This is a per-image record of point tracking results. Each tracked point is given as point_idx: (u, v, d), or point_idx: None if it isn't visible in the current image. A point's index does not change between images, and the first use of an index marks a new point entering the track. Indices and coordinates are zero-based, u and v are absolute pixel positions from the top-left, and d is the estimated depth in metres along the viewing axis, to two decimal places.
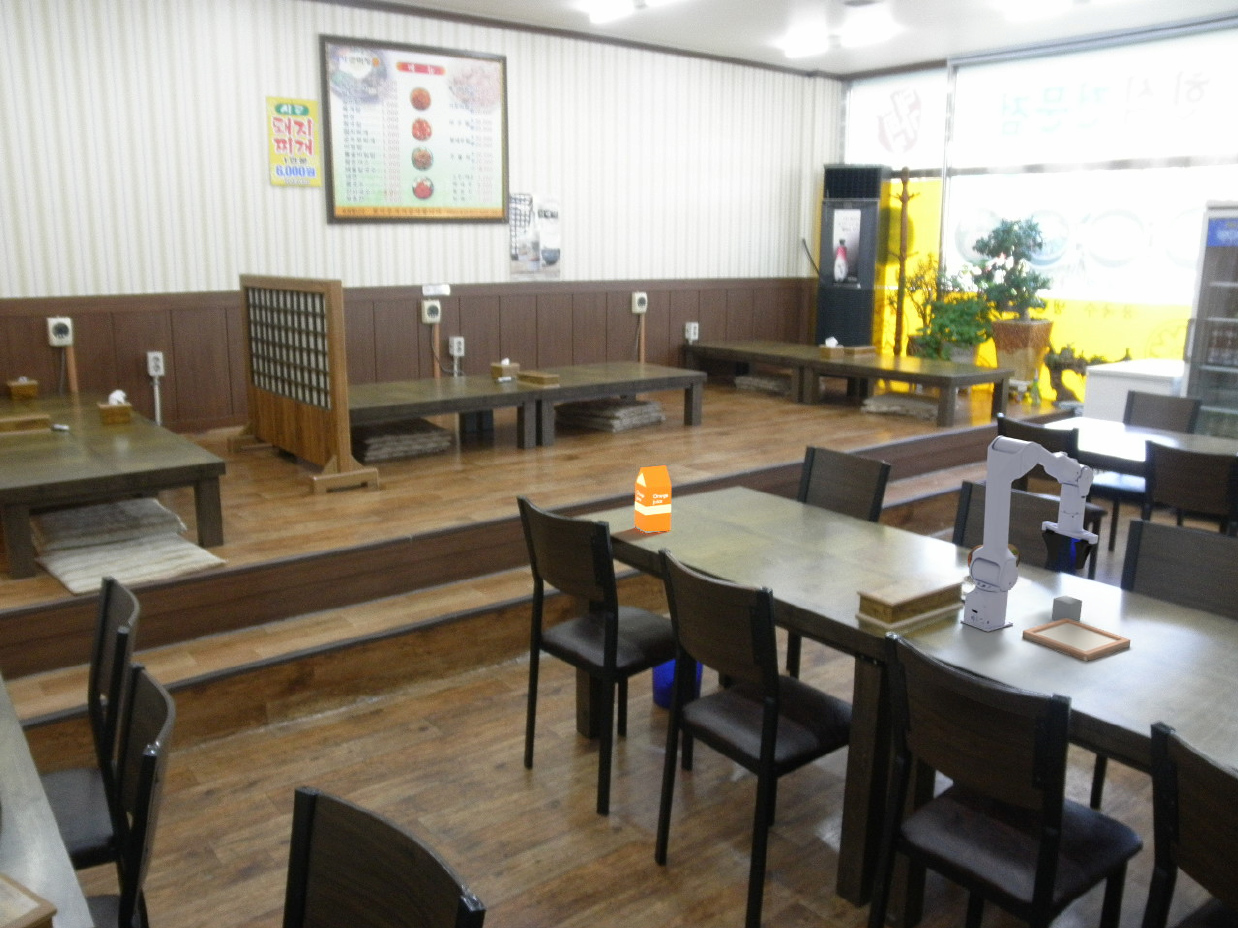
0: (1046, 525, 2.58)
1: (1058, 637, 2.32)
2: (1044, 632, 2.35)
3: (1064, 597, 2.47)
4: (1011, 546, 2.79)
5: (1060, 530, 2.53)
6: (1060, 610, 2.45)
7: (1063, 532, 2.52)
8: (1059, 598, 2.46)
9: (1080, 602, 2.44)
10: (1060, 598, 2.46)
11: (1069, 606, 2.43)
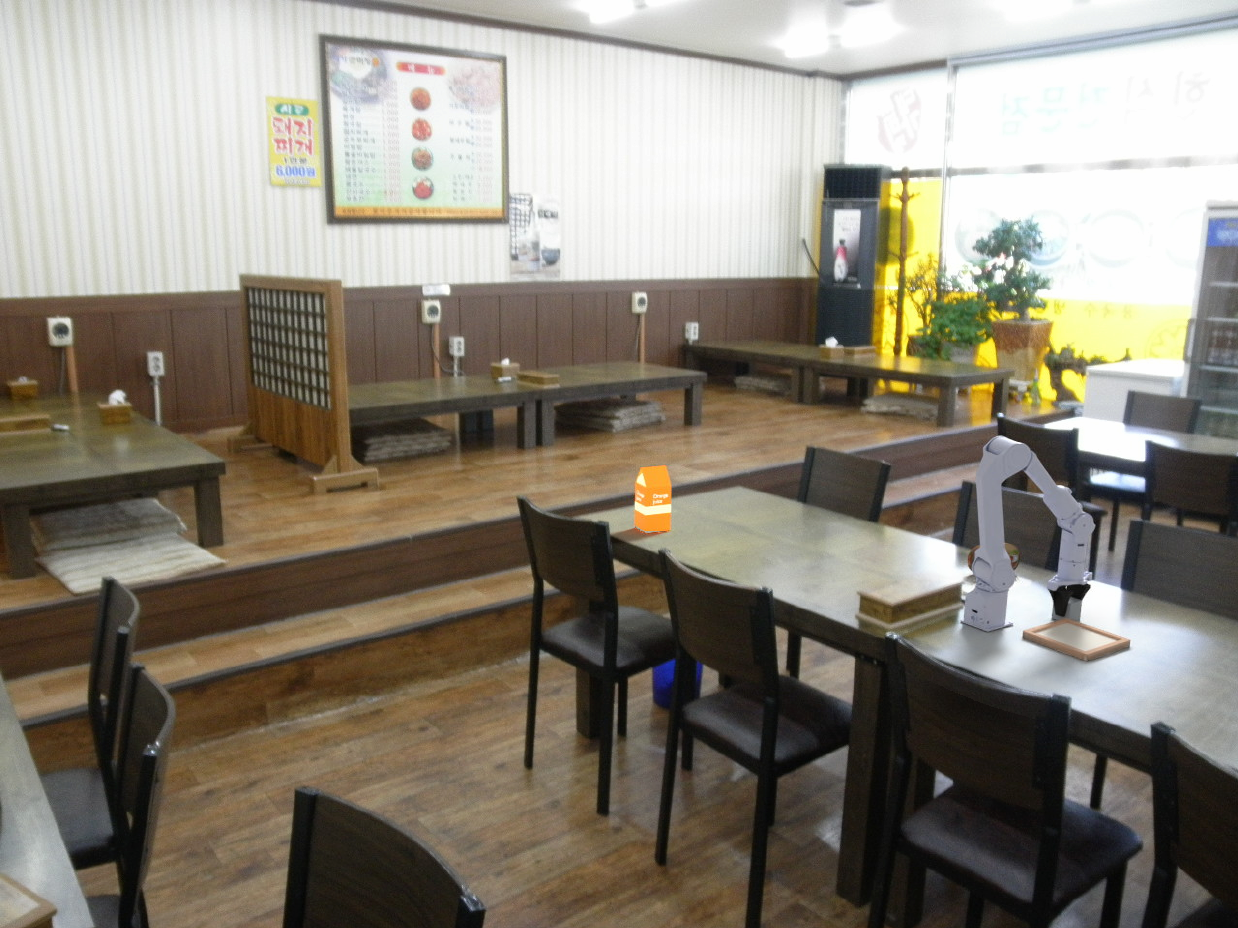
0: None
1: (1058, 637, 2.32)
2: (1044, 632, 2.35)
3: None
4: (1011, 546, 2.79)
5: None
6: None
7: None
8: None
9: (1080, 602, 2.44)
10: None
11: (1069, 605, 2.43)
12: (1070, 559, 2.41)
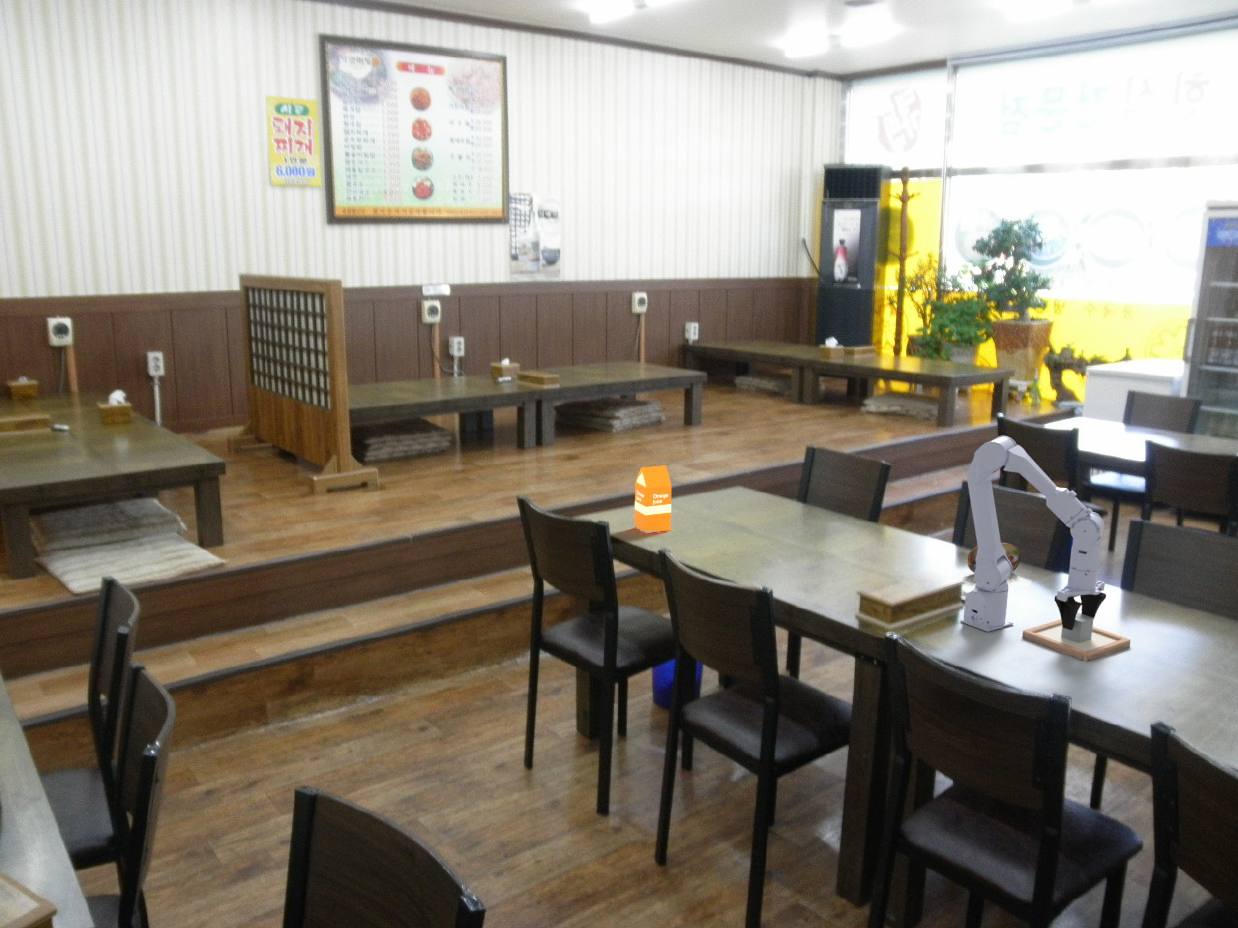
0: None
1: (1058, 637, 2.32)
2: (1044, 632, 2.35)
3: None
4: (1011, 546, 2.79)
5: None
6: None
7: None
8: None
9: (1091, 619, 2.30)
10: None
11: (1080, 623, 2.28)
12: (1072, 565, 2.28)
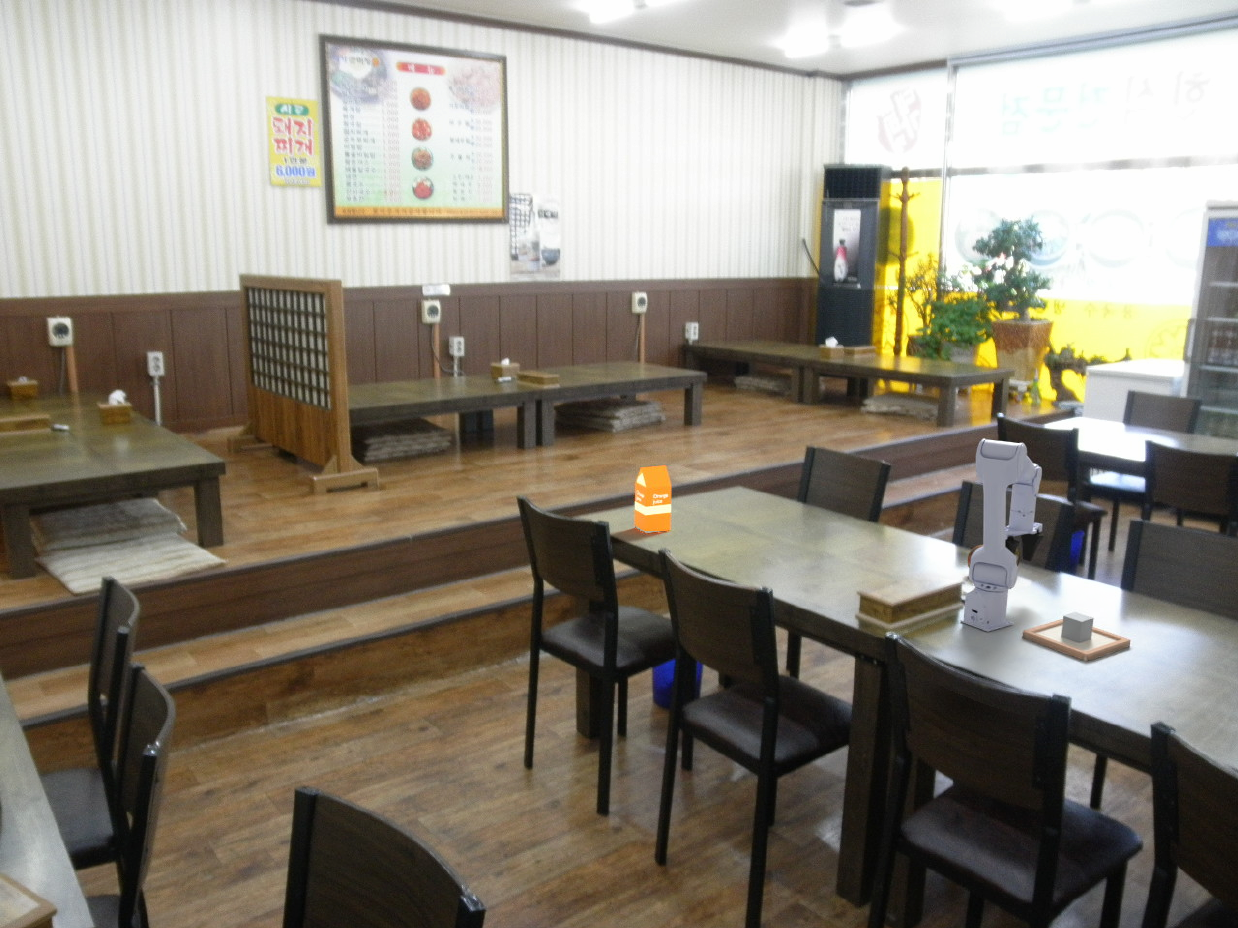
0: None
1: (1058, 637, 2.32)
2: (1044, 632, 2.35)
3: (1074, 614, 2.33)
4: None
5: None
6: (1070, 628, 2.31)
7: None
8: (1069, 615, 2.32)
9: (1091, 619, 2.30)
10: (1070, 615, 2.32)
11: (1080, 623, 2.28)
12: (1029, 510, 2.53)
